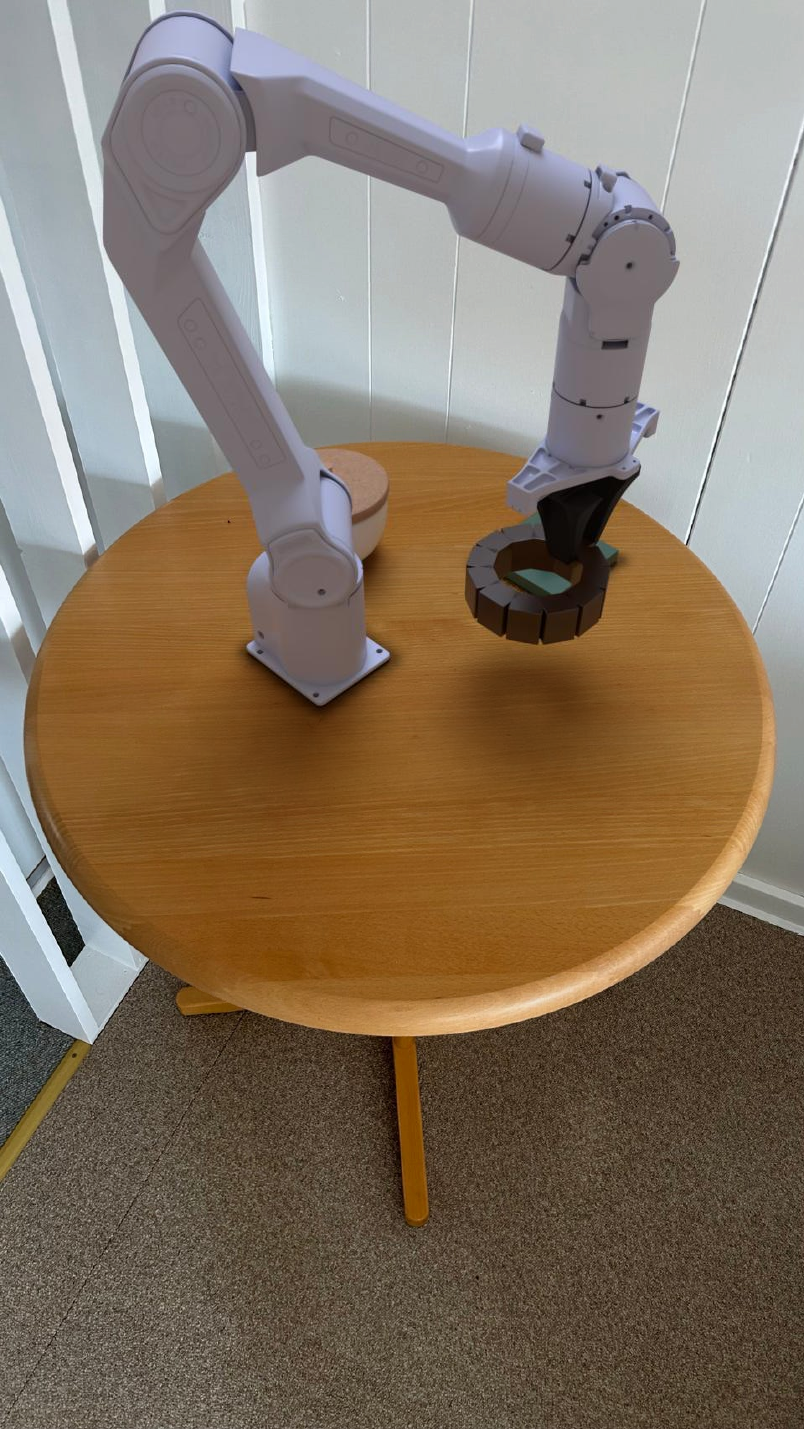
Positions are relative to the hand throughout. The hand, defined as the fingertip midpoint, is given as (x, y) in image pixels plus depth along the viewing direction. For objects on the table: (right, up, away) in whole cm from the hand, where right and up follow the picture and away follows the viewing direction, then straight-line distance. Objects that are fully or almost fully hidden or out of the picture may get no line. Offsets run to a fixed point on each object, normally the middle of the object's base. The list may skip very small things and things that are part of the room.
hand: (571, 549), depth 74 cm
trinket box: (-19, +2, +16) cm, 25 cm away
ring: (-3, -4, 0) cm, 5 cm away
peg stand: (0, +1, +15) cm, 15 cm away
